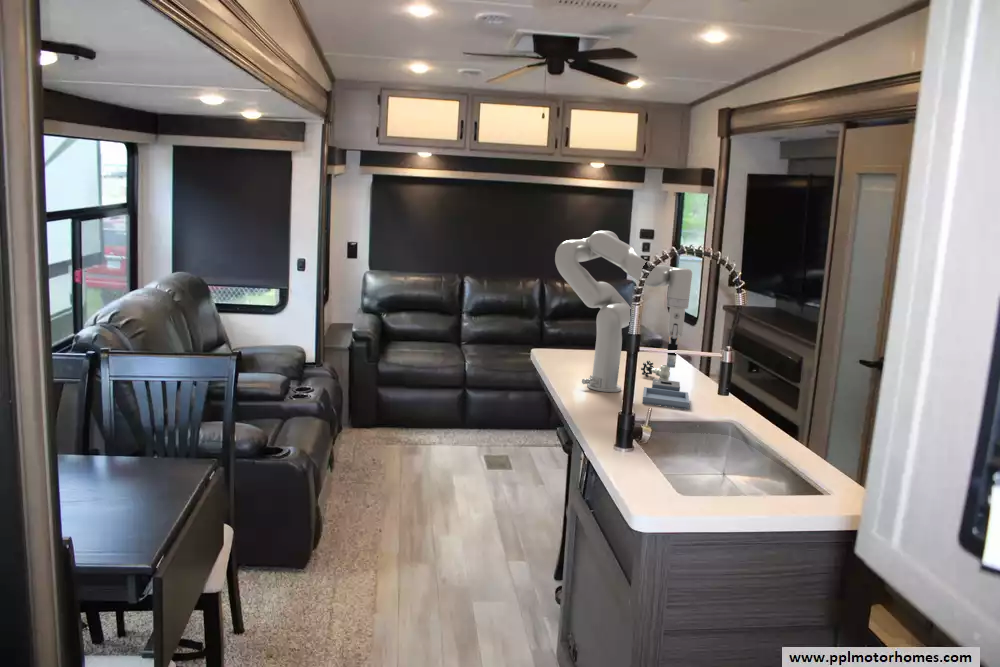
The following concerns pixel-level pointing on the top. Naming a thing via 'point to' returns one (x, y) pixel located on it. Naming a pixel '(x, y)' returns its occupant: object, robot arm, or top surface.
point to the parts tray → (665, 398)
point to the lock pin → (671, 359)
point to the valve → (656, 371)
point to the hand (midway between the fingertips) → (671, 353)
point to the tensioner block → (666, 385)
